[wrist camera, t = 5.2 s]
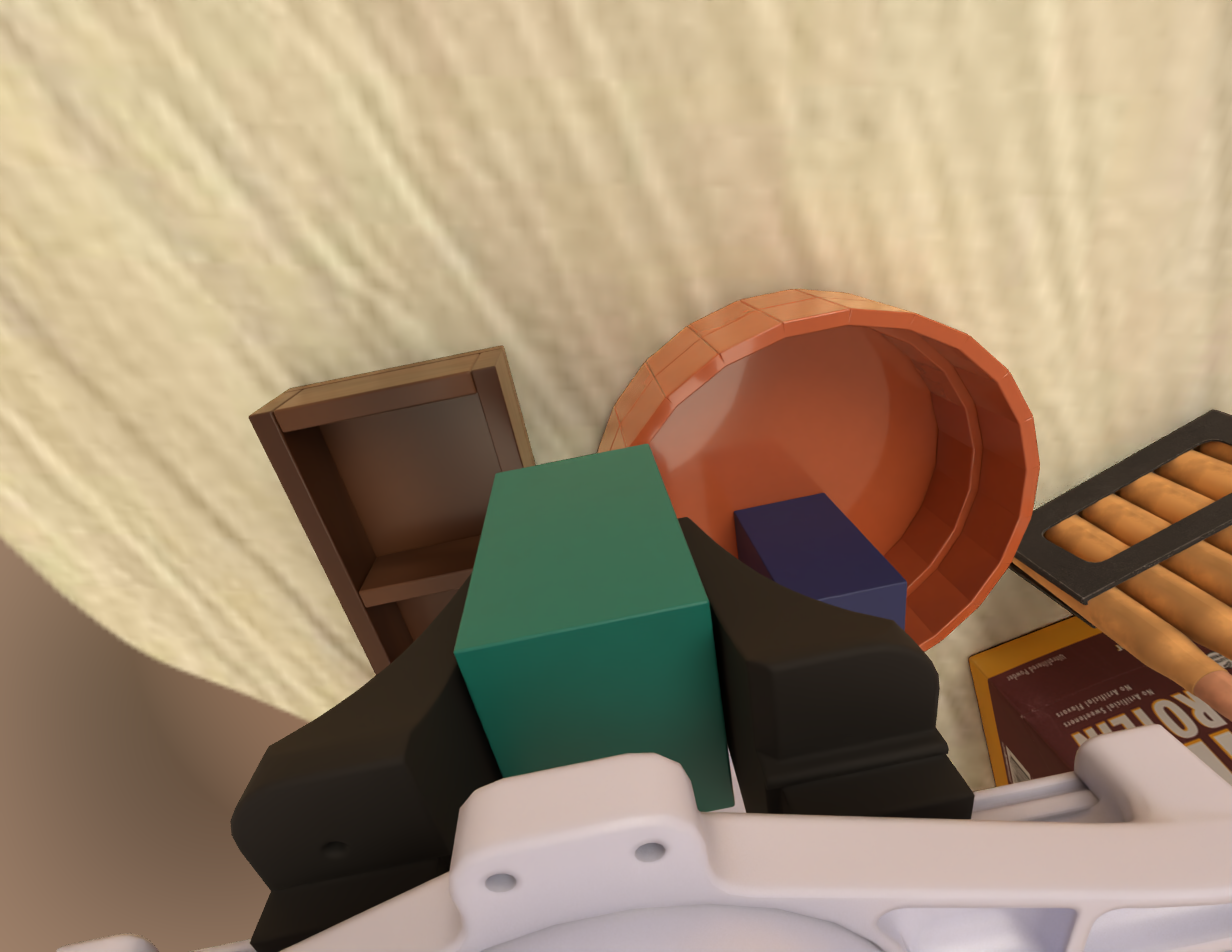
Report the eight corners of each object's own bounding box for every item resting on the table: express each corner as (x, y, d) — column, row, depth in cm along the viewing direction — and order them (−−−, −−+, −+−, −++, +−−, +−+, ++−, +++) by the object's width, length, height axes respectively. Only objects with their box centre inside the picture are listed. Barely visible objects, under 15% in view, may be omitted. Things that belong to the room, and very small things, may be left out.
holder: (423, 688, 28) (408, 742, 25) (288, 388, 21) (246, 416, 18) (587, 655, 28) (590, 705, 25) (503, 344, 21) (494, 365, 18)
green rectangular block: (539, 624, 17) (529, 849, 11) (494, 472, 14) (451, 652, 9) (673, 597, 17) (736, 807, 11) (648, 442, 15) (709, 600, 9)
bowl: (936, 583, 28) (1009, 655, 23) (627, 646, 28) (641, 731, 23) (964, 250, 21) (1074, 262, 17) (557, 333, 21) (557, 367, 17)
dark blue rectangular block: (742, 602, 27) (794, 713, 21) (733, 510, 24) (788, 606, 19) (826, 584, 27) (902, 691, 21) (824, 491, 24) (908, 581, 19)
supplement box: (1161, 576, 29) (1729, 924, 15) (1161, 757, 36) (1557, 1118, 21) (964, 653, 30) (1323, 1045, 16) (999, 815, 37) (1276, 1195, 22)
